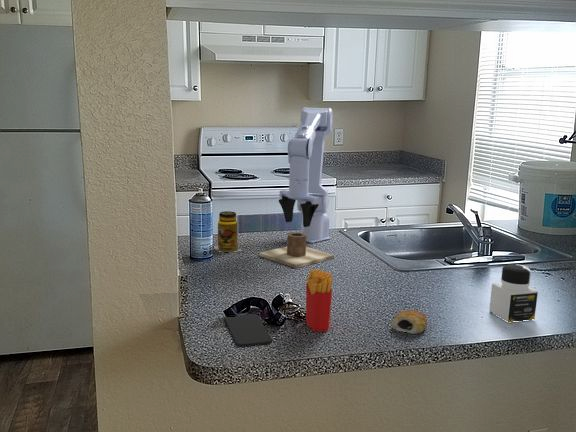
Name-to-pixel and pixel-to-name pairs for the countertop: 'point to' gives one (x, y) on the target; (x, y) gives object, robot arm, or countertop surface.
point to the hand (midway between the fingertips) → (297, 224)
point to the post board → (296, 262)
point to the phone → (248, 330)
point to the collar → (296, 244)
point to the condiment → (227, 232)
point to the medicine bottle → (514, 294)
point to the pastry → (409, 321)
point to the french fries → (318, 300)
